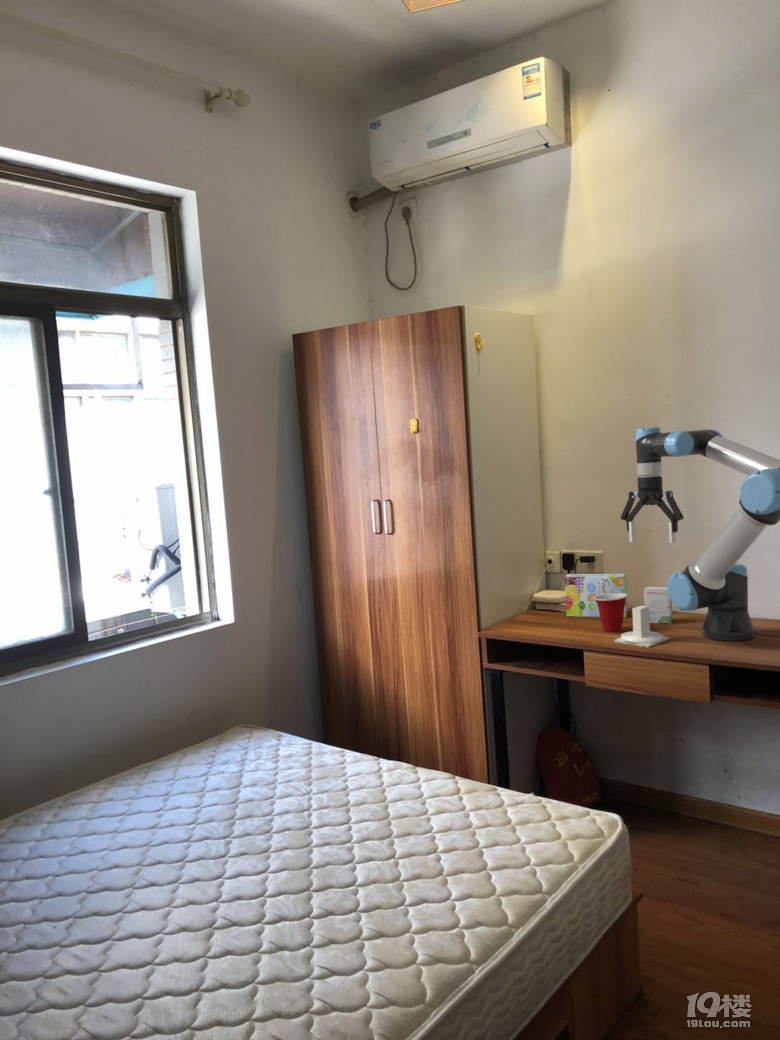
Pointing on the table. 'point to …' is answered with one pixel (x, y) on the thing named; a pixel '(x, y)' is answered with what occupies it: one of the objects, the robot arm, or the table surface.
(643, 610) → the lid
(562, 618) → the table surface
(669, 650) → the table surface
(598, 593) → the snack box
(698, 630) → the table surface
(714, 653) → the table surface
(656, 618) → the ink box
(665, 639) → the mat
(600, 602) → the plastic cup
